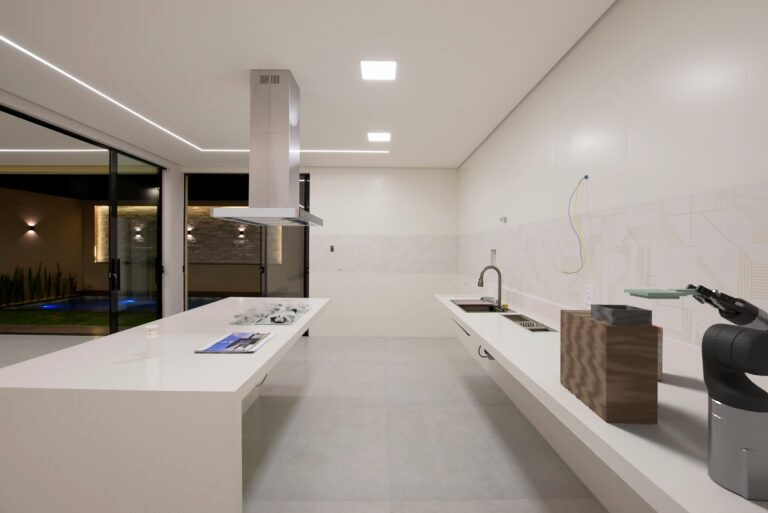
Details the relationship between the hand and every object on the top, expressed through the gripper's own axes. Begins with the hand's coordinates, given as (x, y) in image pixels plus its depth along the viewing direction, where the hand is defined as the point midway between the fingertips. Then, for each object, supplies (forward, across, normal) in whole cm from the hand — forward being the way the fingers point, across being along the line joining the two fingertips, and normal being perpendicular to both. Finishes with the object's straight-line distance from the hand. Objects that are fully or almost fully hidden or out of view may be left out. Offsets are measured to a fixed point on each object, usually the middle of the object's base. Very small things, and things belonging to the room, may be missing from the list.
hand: (693, 287), depth 99 cm
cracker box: (-25, -32, +30) cm, 51 cm away
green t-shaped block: (+3, 0, +6) cm, 6 cm away
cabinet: (+3, -4, +46) cm, 46 cm away
